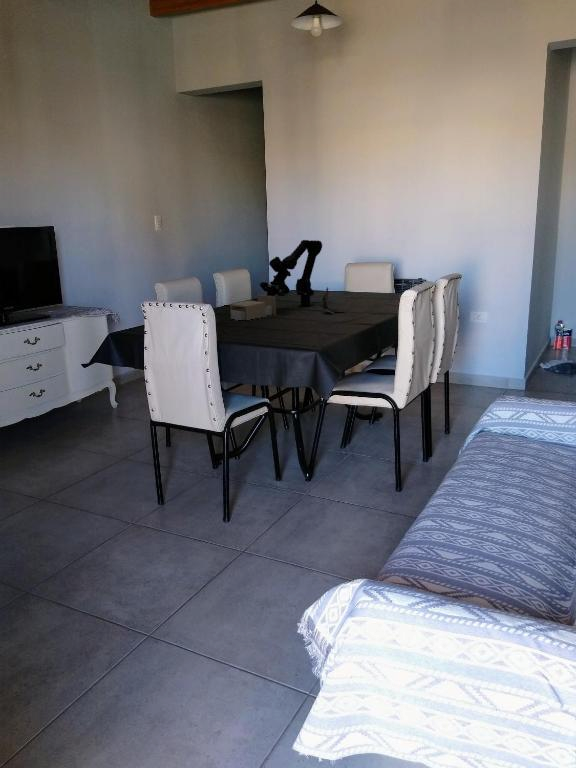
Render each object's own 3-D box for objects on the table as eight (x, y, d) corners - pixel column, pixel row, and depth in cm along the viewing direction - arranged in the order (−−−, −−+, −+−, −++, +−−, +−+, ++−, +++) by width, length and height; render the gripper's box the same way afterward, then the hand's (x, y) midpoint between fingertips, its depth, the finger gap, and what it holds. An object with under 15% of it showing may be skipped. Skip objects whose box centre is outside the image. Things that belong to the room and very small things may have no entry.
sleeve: (249, 314, 348) (248, 300, 345) (265, 316, 339) (265, 302, 337) (231, 318, 338) (230, 304, 335) (247, 321, 329) (246, 306, 327)
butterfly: (310, 293, 342) (325, 284, 338) (316, 294, 351) (331, 285, 347) (325, 321, 341) (340, 312, 337) (331, 321, 350) (346, 312, 346)
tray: (259, 312, 353) (258, 294, 350) (276, 314, 345) (275, 296, 342) (228, 319, 337) (227, 300, 334) (245, 321, 328) (244, 302, 325)
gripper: (300, 287, 351) (287, 310, 346) (275, 285, 363) (263, 307, 359) (290, 274, 343) (277, 297, 339) (265, 273, 356) (252, 295, 351)
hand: (267, 299), depth 347 cm, fingers closed, pressing on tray
